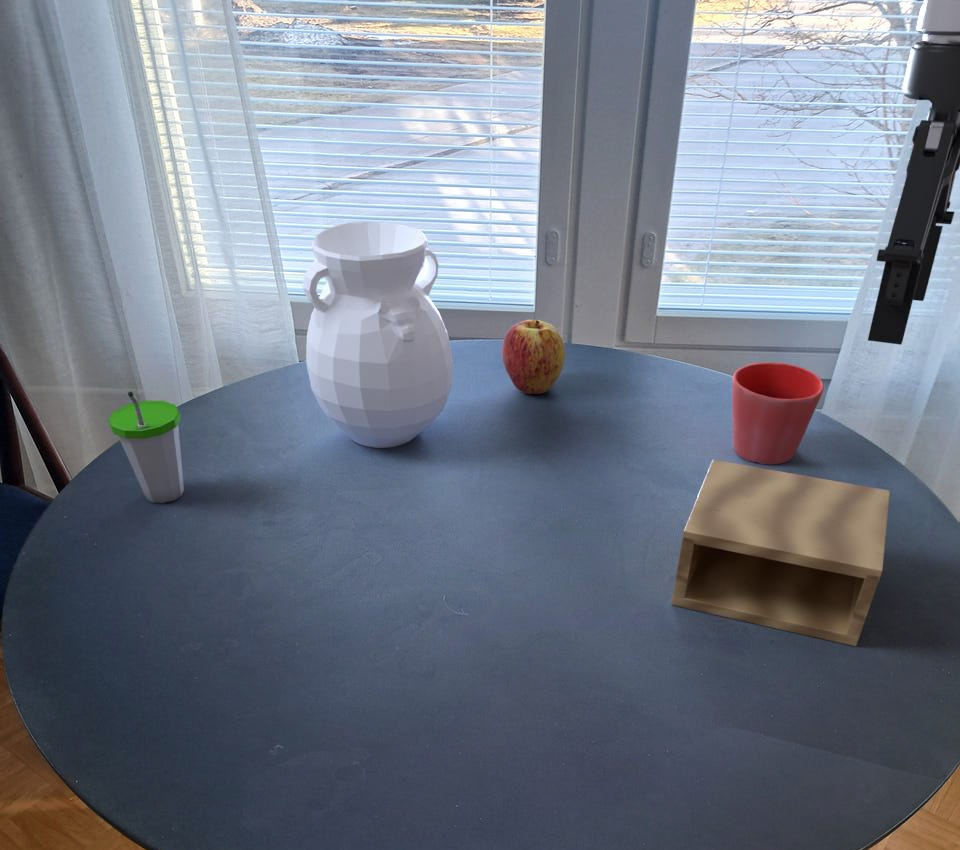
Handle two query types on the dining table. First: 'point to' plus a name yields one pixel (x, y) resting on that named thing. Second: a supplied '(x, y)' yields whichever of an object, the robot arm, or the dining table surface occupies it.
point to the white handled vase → (376, 333)
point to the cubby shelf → (783, 551)
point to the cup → (152, 446)
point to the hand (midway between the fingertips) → (897, 319)
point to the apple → (533, 356)
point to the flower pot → (772, 410)
